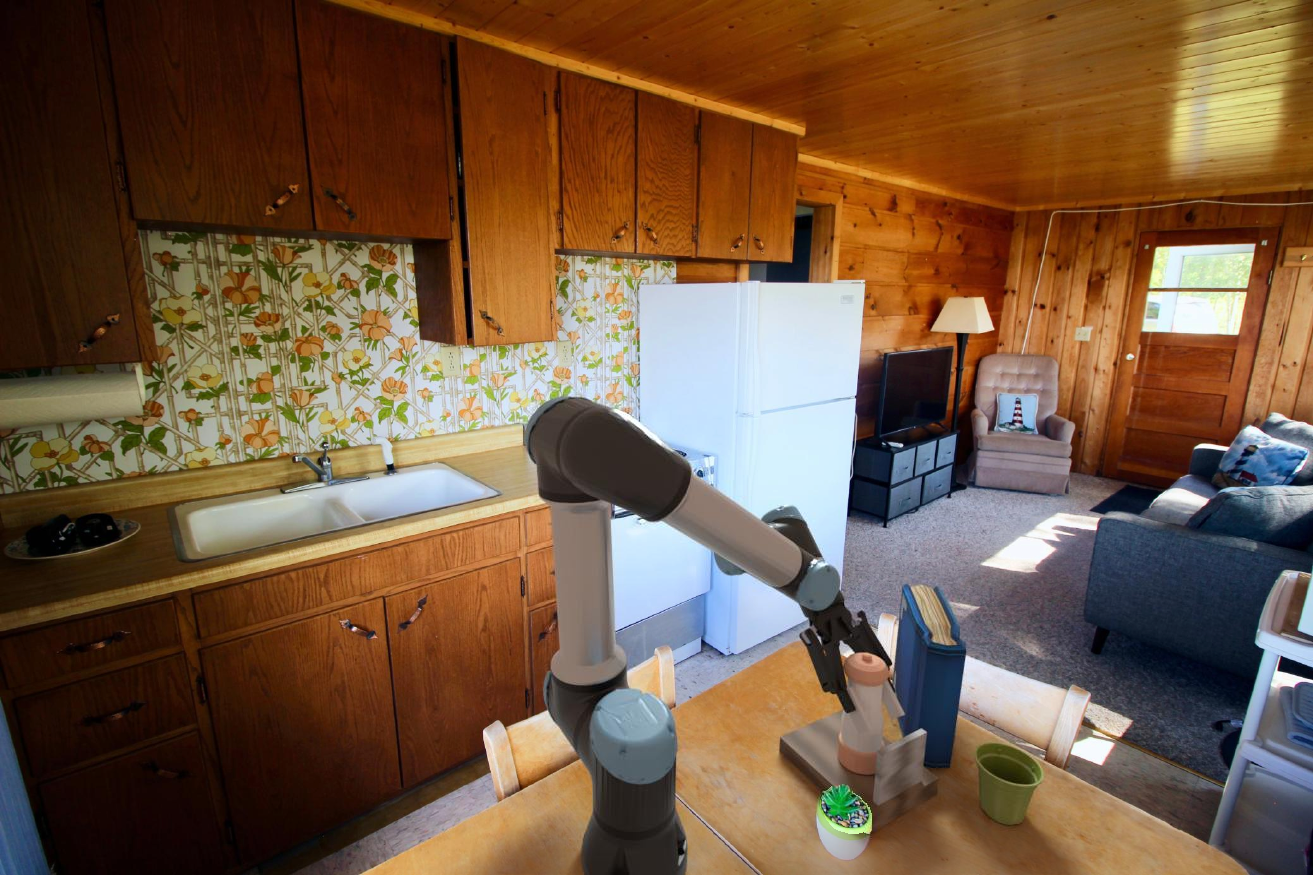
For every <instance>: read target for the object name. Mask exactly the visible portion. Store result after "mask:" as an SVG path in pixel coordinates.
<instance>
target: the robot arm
mask: <svg viewBox="0 0 1313 875" xmlns="http://www.w3.org/2000/svg"><path fill="white" fill-rule="evenodd" d="M524 445H525V449H526V450H525V451H526V452H527V454H528V456H529V458H530V460H531V461H532V463H533V465H535V466H536V476H537V488H538V489H537V490H538V497H539V499H541V501H543V502H544V503H545V504H547V505H548V506H549V507H550V520H551V537H552V551H553V552H552V554H553V566H554V580H555V581H554V583H555V584H554V585H555V594H556V595H555V597H556V611H557V626H558V641H559V642H558V643H559V649H558V650H557V651H556V652H555V653H554V655H553V656H552V658H551V662H550V670H548V671H547V672H546V676H545V678H544V681H543V691H542V692H543V700H544V703H545V706H546V709H547V712H548V714H549V716H550V718H551V720H552V721H553V723H555V725H557V727H558V728H559V730H561V733H562V734H563V735H564V737H565V738H566V740H567V741H568V743H569V744H570V746H571V747H572V749H573V750H574V752H575V754H576V755H577V756H578V757H579V759H580V760H581V762H582V763H583V765H584V767H585V769H587V771H588V773H589V775H590V778H591V782H592V783H591V784H592V785H591V786H592V812H591V815H590V817H589V820H588V823H587V827H586V829H585V832H584V835H583V837H582V843H581V867H582V872H583V875H685V872H686V870H687V866H688V840H687V835H686V830H685V828H684V826H683V823H682V820H681V818H680V815H679V812H678V809H677V806H676V805H677V804H676V801H677V799H676V798H677V797H676V796H677V794H676V792H677V755H678V754H677V753H678V746H679V743H678V737H677V736H678V735H677V729H676V722H675V721H676V720H675V717H674V715H673V713H672V711H671V710H670V708H669V706H668V705H667V703H666V702H664V701H663V699H661V697H658V696H657V695H655V694H654V693H651V692H649V691H646V692H645V693H643V692H642V690H641V689H639V688H630V685H629V682H628V668H627V667H628V666H627V665H628V663H627V655H626V651H625V650H624V649H623V648H622V647H621V646H620V645H618V644H617V641H616V640H617V638H616V614H615V593H614V592H615V590H614V589H615V588H614V569H613V565H614V564H613V546H612V545H613V543H612V541H613V540H612V538H613V537H612V519H611V518H612V517H611V514H612V513H611V505H614V506H616V507H618V508H621V509H623V510H625V511H628V512H630V513H632V514H634V515H636V516H638V517H639V518H641V519H642V520H644V521H646V522H649V523H659V522H663V523H665V524H666V525H667V526H670V527H671V528H673V529H675V530H676V531H677V532H679V533H681V534H683V535H685V536H686V537H688V538H689V539H691V540H693V541H695V542H696V543H698V544H699V545H701V546H703V547H705V548H706V549H708V550H709V551H711V552H713V557H714V560H715V564H716V565H717V568H718V569H719V571H720V572H722V573H723V574H724V575H727V576H730V577H732V576H741V575H743V574H747V575H749V576H751V577H752V578H754V579H756V580H757V581H760V582H761V583H763V584H764V585H767V586H768V587H771V588H773V589H775V591H777V592H779V593H781V594H782V595H784V596H785V597H787V598H789V599H791V600H792V601H794V602H795V603H797V604H798V605H799V608H800V610H801V611H802V614H803V616H804V617H805V618H806V619H808V622H809V627H808V628H807V629H805V630H803V631H801V632H800V633H799V634H798V637H799V639H800V640H801V642H802V643H803V644H804V646H805V648H806V649H807V652H808V653H807V654H808V655H809V657H810V661H811V663H812V666H813V668H814V669H813V670H814V671H815V674H816V676H817V679H818V681H819V684H820V687H821V690H822V691H823V693H825V694H826V693H830V694H831V695H836V697H837V698H838V700H839V702H840V705H841V707H842V709H844V711H845V712H846V713H849V714H850V717H851V719H852V721H853V723H854V725H855V727H856V729H857V731H858V733H859V734H863V733H866V732H869V731H871V730H873V729H872V727H871V725H870V723H869V720H868V718H867V716H866V714H865V712H864V710H863V708H862V706H861V704H860V702H859V700H858V698H857V696H856V694H855V692H854V690H853V688H850V689H847V683H848V682H847V680H846V678H847V677H846V674H845V671H844V668H843V665H844V663H843V660H842V654H841V650H840V646H841V641H842V643H843V644H844V645H846V646H848V647H849V648H850V649H851V651H852V652H853V654H854V653H869V654H872V655H875V656H877V657H879V658H881V659H882V660H883V661H884V662H885V664H886V665H887V667H888V670H889V672H890V670H891V668H890V667H891V666H893V661H892V660H891V658H890V656H889V655H888V653H887V651H886V650H885V648H884V646H883V645H882V643H881V641H880V640H879V637H877V635H876V633H875V632H874V630H873V628H872V627H871V624H869V620H868V618H867V614H866V612H865V611H864V610H862V609H861V610H859V611H857V612H851V611H850V609H848V608H847V607H846V605H845V597H844V595H843V593H842V591H841V589H840V588H841V576H840V573H839V571H838V569H837V568H836V567H835V566H833V565H832V564H830V563H828V562H826V560H825V558H824V557H823V554H822V552H821V551H820V548H819V547H818V545H817V543H816V540H815V539H814V537H813V534H812V532H811V530H810V528H809V526H808V524H807V521H806V520H805V519H804V517H803V516H802V514H801V512H800V511H799V509H798V508H797V506H795V505H793V504H784V505H781V506H779V507H775V508H772V509H770V510H769V511H768V512H766V513H764V514H763V515H762V517H761V519H760V518H759V517H758V516H756V515H755V514H753V513H751V512H750V511H748V510H747V509H746V508H745V507H743V506H742V505H740V504H739V503H737V502H736V501H734V500H732V498H730V497H729V496H727V494H724V493H723V492H721V491H720V490H718V489H717V488H715V487H714V486H713V485H711V484H710V483H708V482H707V481H705V480H704V479H703V478H701V477H700V476H698V475H697V474H695V473H694V472H693V466H692V464H691V462H690V461H689V459H688V458H686V457H685V456H683V455H682V454H680V453H679V452H678V451H676V450H675V449H674V448H673V447H671V445H669V444H667V443H666V441H664V440H663V439H662V438H660V437H659V436H658V435H657V434H655V433H654V432H653V431H651V430H650V429H649V428H648V427H646V426H645V425H643V423H642V422H640V421H638V419H636V418H634V417H633V416H631V415H630V414H628V413H627V412H625V411H622V410H620V409H617V408H615V407H611V406H607V405H604V404H601V403H597V402H595V401H593V400H591V399H589V398H587V397H583V396H571V395H565V396H564V395H563V396H557V397H554V398H550V399H548V400H547V401H546V402H544V403H542V404H541V405H540V406H538V408H536V410H535V411H534V412H533V413H532V415H531V416H530V417H529V419H528V422H527V423H526V427H525V431H524ZM819 638H820V639H819ZM892 683H893V682H892V681H891V678H890V676H889V677H888V679H887V680H886V682H885V683H884V684H883V689H882V704H883V706H884V709H885V710H886V712H887V714H888V716H889V718H890V720H894V719H896V718H897V719H898V717H900V716H903V715H905V713H904V711H903V709H902V707H901V705H900V704H899V702H898V700H897V698H896V696H895V694H894V693H895V688H894V686H893V685H892Z"/></svg>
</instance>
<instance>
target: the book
mask: <svg viewBox="0 0 1313 875" xmlns="http://www.w3.org/2000/svg"><path fill="white" fill-rule="evenodd" d="M960 629H961V627H960V625H959V622H958V620H957V617H956V615H955V614H954V611H953V609H952V607H951V605H950V603H949V601H948V599H947V598H946V595H945V594H944V592H943V590H942V589H941V588H939V587H938V586H937V585H936V586H935V587H934V588H931V587H929V586H925V585H923V584H918V585H914V586H910V585H909V584H908V583H905V584H904V585H902V586H901V595H900V606H899V615H898V626H897V635H896V644H895V645H896V646H895V655H894V665H893V672H892V674H893V675H892V682H891V683H892V685H893V686H894V688H895V693H894V694H895V696H896V698H897V700H898V702H899V704H900V705H901V707H902V709H903V711H904V713H905V715H903V716H900V717H897V720H898V723H899V727H900V730H901V734H902V738H904V737H906V736H907V735H909V734H911V733H913V732H915V731H917V730H919V729H921V728H922V729H923V730H925V731H926V732H927V737H926V746H925V755H924V763H923V766H924V767H925V768H927V769H928V768H929V769H932V770H934V769H951V765H952V759H953V751H954V745H955V737H956V732H957V731H956V730H957V722H958V714H959V709H960V702H961V692H962V685H963V679H964V671H965V664H966V657H967V647H966V642H964V640H963V639H961V637H960V636H961V634H960V633H961V630H960Z"/></svg>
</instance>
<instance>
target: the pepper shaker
mask: <svg viewBox="0 0 1313 875" xmlns="http://www.w3.org/2000/svg"><path fill="white" fill-rule="evenodd" d="M843 669H844V673H845V677H846V678H847V682H846V683H847V689H850V688H853V690H854V692H855V694H856V696H857V698H858V700H859V702H860V704H861V706H862V708H863V710H864V712H865V714H866V716H867V718H868V720H869V723H870V725H871V727H872V729H873V730H871V731H869V732H866V733H863V734H859V733H858V731H857V729H856V727H855V725H854V723H853V721H852V719H851V717H850V714H849V713H846V712H845V711H844V710H843V714H842V721H841V733H840V734H839V738H838V755H837V756H838V759H839V761H840V762H841V764H842V765H843V766H844V767H846V768H847V769H849V770H851V771H853V772H855V773H859V774H865V775H870V774H875V773H876V762H877V751H878V750H880V749H882V748H884V743H883V741H882V738H883V737H884V730H885V729H884V728H885V724H884V723H885V721H884V713H883V705H882V704H883V702H882V689H883V684H884V683H885V682H886V680H887V679H888V677H889V678H890V671H889V670H888V667H887V665H886V664H885V662H884V661H883V660H882V659H881V658H879V657H877V656H875V655H872V654H869V653H854V652H853V653H851V654H850V655H849V656H848V657H847V658H846V659H844V663H843Z"/></svg>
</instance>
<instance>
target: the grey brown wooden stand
mask: <svg viewBox="0 0 1313 875" xmlns="http://www.w3.org/2000/svg"><path fill="white" fill-rule="evenodd" d="M843 710H844V709H843V708H842V709H840V710H838V711H836V712H833V713H831V714H829V715H826V716H824V717H823V718H822V717H821V718H820V719H818V720H816V721H813V722H811V723H807V724H806V725H803V726H802V727H799V728H797V729H795V730H792V731H790V732H788V733H785V734H784V735H781V736H779V747H778V748H779V750H778V751H779V753H780V754H781V755H782V756H783V757H784V758H785V759H786V760H787V761H788V762H790V764H792V766H793V767H795V768H796V769H797V770H798V771H799V772H800V773H801V774H802V775H804V776H805V778H806V779H808V780H809V782H810V783H811V784H813V785H814V786H815V787H816V788H817V789H818V790H819V791H820V792H821V793H822V792H823V791H826V790H828V789H829V788H830V787H831V786H838V785H842V784H844V785H848V786H849V788H850V790H851V791H853V793H855V794H856V795H858V796H860V797H861V798H862V800H863V801H864V802H865V803H867V805H868V807H870V810H871V813H872V831H871V834H872V833H874V832H876V831H878V830H880V829H881V828H883V827H884V826H886V825H887V824H889V823H891V822H893V821H894V820H896V819H898V818H899V817H901V816H903V815H905V814H907V813H908V812H910V811H912V810H913V809H915V808H917V807H918V806H920V805H921V804H923V803H925V802H927V801H929V800H930V799H931V798H933V797H935V796H936V795H938V792H939V791H938V790H939V784H940V783H939V782H940V777H939V776H937V775H936V774H934V773H933V772H931V771H930V770H929V769H928V768H927V767H925V766H923V763H924V755H925V746H926V737H927V732H926V731H925V730H923V729H922V728H921V729H919V730H917V731H915V732H913V733H911V734H909V735H907V736H906V737H901V738H900V739H898V740H896V741H894V742H892V741H891V740H889V739H887V738H886V737H885V736H883V738H882V741H883V743H884V748H882V749H880V750H878V751H877V762H876V773H875V774H870V775H865V774H859V773H855V772H853V771H851V770H849V769H847V768H846V767H844V766H843V765H842V764H841V762H840V761H839V759H838V756H837V755H838V738H839V734H840V733H841V721H842V714H843Z"/></svg>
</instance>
